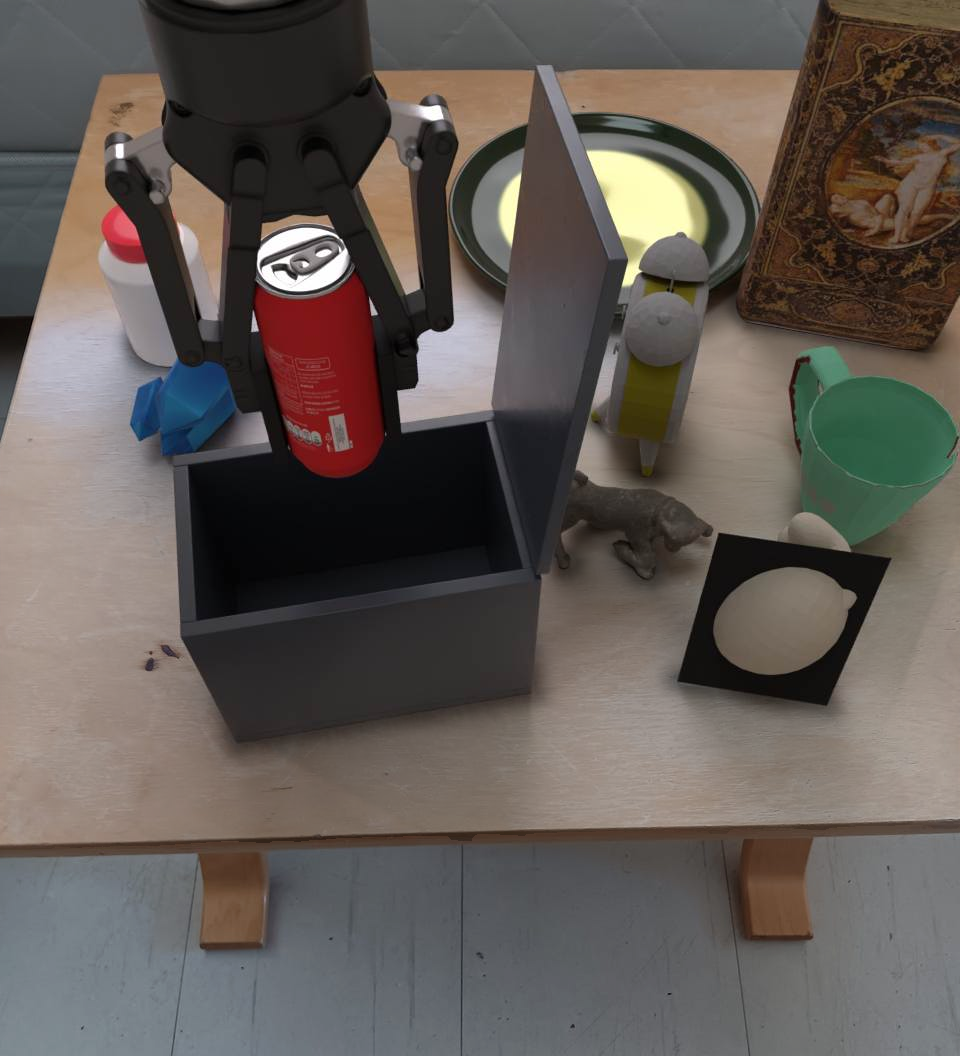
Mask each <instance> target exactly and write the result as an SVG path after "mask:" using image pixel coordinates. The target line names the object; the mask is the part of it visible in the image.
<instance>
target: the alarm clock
mask: <svg viewBox="0 0 960 1056" xmlns="http://www.w3.org/2000/svg"><path fill="white" fill-rule="evenodd" d="M639 270H641V271H643V272H640V273H638V274H637V275H636V277H635V279H634V282H633V284H632V286H631V290H630V298H629V302H628V307H627V310H625V309H626V306H625V305H624V307H623V311H622V317H620V319H621V320H624V321H623V325H622V330H621V335H620V339H619V340H615V341H614V345H613V350H612V355H616V354H617V358H616V361H615V365H614V366H615V367H614V372H613V377H612V382H611V389H610V394H609V396H608V397H607V398H606V399H604V401H603V402H602V403H601V404H599V406H598V407H596V408H595V409H594V410H593V411H592V412H590V414H589V417H590V419H591V421H593V422H595V421H599V420H603V419H605V418H606V420H605V426H606V427H605V428H606V429H607V430H608V431H609V432H610V433H612V434H616V435H617V436H620V437H626V438H630V439H631V438H632V439H637V440H638V442H639V454H640V466H641V475H642V476H645V477H649V476H651V475H652V473H653V469H654V466H655V462H656V459H657V455H658V452H659V448H660V445H661V444H663V443H667V444H670V443H673V442H675V441H676V439H677V437H678V435H679V433H680V429H681V426H682V422H683V417H684V415H685V410H686V406H687V401H688V397H689V393H690V389H691V384H692V380H693V375H694V371H695V366H696V363H697V361H696V360H697V356H698V354H699V353H698V352H699V347H700V343H701V338H702V333H703V328H704V323H705V317H706V313H707V307H708V301H709V295H710V294H709V286H708V285H707V284H706V283H705V281H706V280H708V277H709V263H708V260H707V257H706V254H705V252H704V250H703V249H702V248H701V246H700V245H699V244H698V243H697V242H695V241H694V240H692V239H690V238H688V237H687V236H686V234H685V233H684V232H677V233H676V235H673V236H667V237H664V238H662V239H659V240H657V241H656V242H655V243H654V244H652V245H651V246H650V247H649V248H648V249H647V251H646V252H645V253H644V255H643V257H642V259H641V261H640V264H639ZM708 294H709V295H708ZM624 315H626V316H625V317H624ZM616 352H617V353H616Z"/></svg>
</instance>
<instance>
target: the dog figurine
mask: <svg viewBox="0 0 960 1056" xmlns="http://www.w3.org/2000/svg"><path fill="white" fill-rule="evenodd" d="M582 520H584V521H586V522H587V523H588V524H590V525H592V526H594V527H595V528H598V529H602V530H607V531H614V532H615V531H616V532H622V533H624V535H625V538H626V540H624V539H617V540H616V541H615V542H612V547H613V548H614V550H615V551H616V552H617V554H618V555H619V556H620V557H621V558H622V559H624V560H625V562H627V563H628V564H629V565H631V566H632V567H634V568H635V571H636V573H637V574H638V575H639V576H640V577H642V578H644V579H651V578H652V577H653V576H654V575H655V572H654V571H653V569H654V568H655V567H656V565H657V564H658V561H659V560H658V559H659V558H658V556H657V554H656V549H655V545H654V540H656V539H658V538H663V544H664V548H665V550H666V551H667V552H669V553H671V554H677V553H678V552H679V551H681V549H682V547H683V548H684V547H687V546H689V545H691V544H693V543H694V542H695V541H697V539H699V538H700V537H701V536H702V537H704V538H709V537H712V536H713V534H714V530H715V529H714V527H713V526H712V525H711V524H709V523H707V522H706V521H705V520H703V519H701V518H700V517H698V516H697V515H696V513H695V512H694V511H693V509H691V508H690V507H689V506H688V505H687V504H686V503H683V502H681V501H679V500H677V499H676V497H674V496H671V495H666V494H664V493H663V492H660V491H658V490H656V489H652V488H622V487H615V486H604V485H603V486H602V485H597V483H594V482H593V481H592V480H590V479H589V476H588V475H586V474H585V473H584V472H582V470H578V469H576V470H575V474H574V477H573V481H572V485H571V489H570V493H569V497H568V501H567V505H566V509H565V513H564V517H563V521H562V525H561V529H560V533H559V537H558V541H557V545H556V549H555V553H554V557H555V558H556V560H557V563H558V566H559V567H560V568H562V569H567V568H569V567H570V565H571V560H572V559H571V556H570V555H569V554H568V552H566V551H565V546H564V543H563V541H562V540H563V539H562V534H563V533H564V532H566V531H568V530H570V529H571V528H573V527H575V526H576V525H577V524H579V522H580V521H582Z"/></svg>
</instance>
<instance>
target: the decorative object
mask: <svg viewBox="0 0 960 1056" xmlns="http://www.w3.org/2000/svg"><path fill="white" fill-rule="evenodd" d="M714 543H715V544H714V547H713V551H712V554H711V558H710V562H709V565H708V569H707V573H706V576H705V578H704V579H705V580H704V583H703V587H702V591H701V594H700V598H699V601H698V605H697V607H696V609H697V610H696V612H695V615H694V619H693V624H692V627H691V631H690V634H689V637H688V641H687V645H686V649H685V652H684V655H683V659H682V663H681V667H680V670H679V673H678V677H677V681H676V682H677V683H684V684H690V685H696V686H702V687H708V688H715V689H720V690H727V691H732V692H733V691H734V692H738V693H745V694H752V695H758V696H764V697H770V698H776V699H782V700H788V701H789V700H790V701H795V702H801V703H807V704H813V705H820V706H826V707H827V706H828V704H829V702H830V699H831V697H832V695H833V694H834V690H835V688H836V686H837V684H838V681H839V679H840V677H841V674H842V672H843V670H844V668H845V665H846V664H847V660H848V658H849V656H850V654H851V652H852V650H853V648H854V645H855V643H856V641H857V638H858V636H859V634H860V631H861V629H862V627H863V624H864V622H865V620H866V618H867V615H868V614H869V611H870V609H871V607H872V604H873V602H874V600H875V597H876V595H877V594H878V590H879V588H880V586H881V583H882V581H883V580H884V577H885V575H886V573H887V570H888V568H889V566H890V564H891V561H892V557H888V556H887V557H886V556H880V555H875V554H874V555H873V554H867V553H862V552H861V553H860V552H854V551H852V549H851V546H849V545H848V543H847V542H846V540H845V539H844V538H843V537H842V536H841V535H840V534H839V533H838V532H837V531H836V530H835V529H834V528H833V527H832V526H831V525H830V524H828V523H827V522H826V521H825V520H823V519H822V518H821V517H819V516H817V515H815V514H813V513H808V512H803V511H802V512H800V513H797V514H795V515H794V516H793V517H792V518H791V519H790V521H789V523H788V525H787V526H785V527H783V528H782V529H781V530H780V532H779V533H778V536H777V540H773V539H766V538H759V537H752V536H745V535H740V534H739V535H738V534H732V533H725V532H718V533H717V536H716V539H715V542H714Z"/></svg>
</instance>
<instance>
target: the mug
mask: <svg viewBox="0 0 960 1056" xmlns="http://www.w3.org/2000/svg"><path fill="white" fill-rule="evenodd" d="M820 387H821V389H822V391H821V392H820ZM788 395H789V397H788V398H789V405H790V413H791V420H792V430H793V437H794V439H793V440H794V443H795V446H796V449H797V452H798V455H799V458H800V461H801V462H800V491H801V492H800V493H801V495H800V496H801V497H800V498H801V499H800V500H801V506H802V512H808V513H813V514H815V515H817V516H819V517H821V518H822V519H823V520H825V521H826V522H827V523H828V524H830V525H831V526H832V527H833V528H834V529H835V530H836V531H837V532H838V533H839V534H840V535H841V536H842V537H843V538H844V539H845V540H846V542H847V543H848V545H849V547H854V546H856V545H859V544H860V543H862V542H864V541H866V540H868V539H870V538H871V537H872V538H873V536H876V535H877V534H879V533H881V532H883V531H884V530H886V528H888V527H890V526H891V525H893V524H894V523H895V522H897V521H898V520H900V519H901V518H902V517H903V516H904V515H905V514H906V513H907V512H908V511H909V510H910V509H911V508H912V507H913V506H915V505H916V504H917V503H918V502H919V501H920V500H921V499H922V498H924V497H925V496H926V495H927V494H929V493H930V492H931V491H932V490H933V489H935V487H936V486H937V485H938V484H939V483H940V482H941V481H942V480H944V478H945V477H946V476H948V474H949V473H950V472H951V470H952V469H953V467H954V466H955V464H956V461H957V457H958V454H959V453H958V451H955V452H954V450H956V448H957V445H958V441H959V438H960V432H959V428H958V426H957V424H956V422H955V420H954V418H953V416H952V415H951V413H950V411H949V410H948V409H947V408H946V407H944V405H943V404H942V403H940V401H939V400H938V399H937V398H936V397H935V396H933V395H931V394H930V393H929V392H926V391H925V390H924V389H922V388H921V387H918V386H917V385H915V384H913V383H909V382H906V381H904V380H901V379H897V378H895V377H890V376H889V377H888V376H879V375H871V374H868V375H867V374H866V375H860V376H853V374H852V372H851V371H850V369H849V366H848V364H847V363H846V360H844V358H843V357H842V355H841V354H840V352H839V351H838V350H837V348H836V347H835V346H832V345H829V346H828V345H826V346H820V347H813V348H807V349H805V350H804V351H801V352H800V353H799V354H798V356H797V357H796V359H795V362H794V365H793V370H792V374H791V377H790V381H789V385H788ZM953 452H954V453H953Z"/></svg>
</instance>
